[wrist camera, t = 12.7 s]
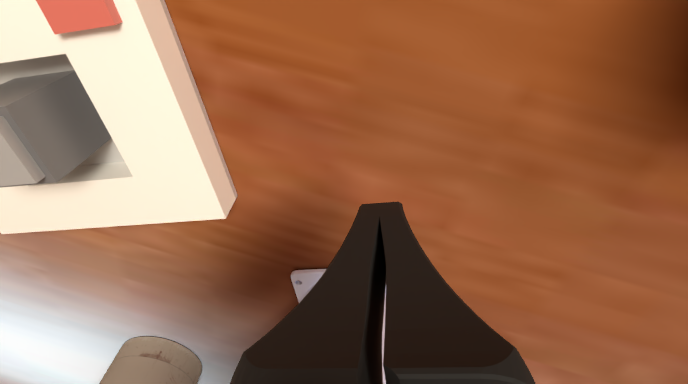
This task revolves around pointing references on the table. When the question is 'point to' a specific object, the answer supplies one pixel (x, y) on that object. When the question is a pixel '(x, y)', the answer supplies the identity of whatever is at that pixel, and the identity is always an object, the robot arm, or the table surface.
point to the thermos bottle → (153, 363)
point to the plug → (46, 128)
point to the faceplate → (117, 117)
